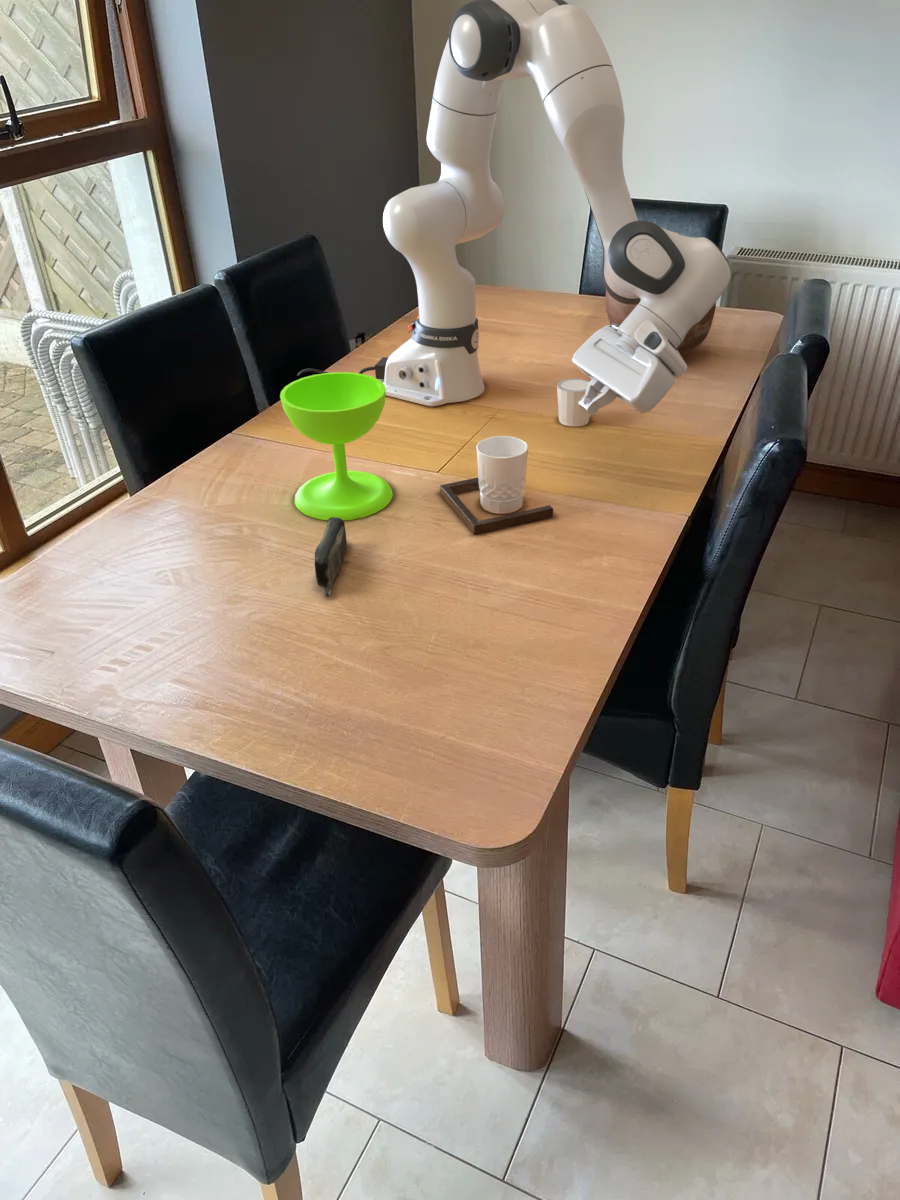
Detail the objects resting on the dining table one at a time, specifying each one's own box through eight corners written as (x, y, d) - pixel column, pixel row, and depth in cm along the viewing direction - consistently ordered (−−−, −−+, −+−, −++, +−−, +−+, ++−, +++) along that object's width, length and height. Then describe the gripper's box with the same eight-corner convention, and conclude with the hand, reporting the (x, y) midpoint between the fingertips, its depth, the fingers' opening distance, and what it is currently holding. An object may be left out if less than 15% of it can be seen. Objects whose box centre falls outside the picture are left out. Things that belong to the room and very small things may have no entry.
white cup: (533, 497, 147) (534, 439, 142) (517, 519, 141) (518, 460, 136) (487, 489, 150) (486, 432, 144) (469, 511, 144) (468, 453, 138)
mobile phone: (325, 514, 135) (308, 566, 122) (346, 514, 134) (331, 566, 122) (328, 543, 137) (312, 598, 125) (348, 543, 137) (334, 598, 125)
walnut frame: (513, 478, 153) (513, 469, 152) (553, 517, 142) (553, 508, 141) (440, 493, 149) (439, 485, 148) (474, 535, 138) (474, 525, 137)
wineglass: (350, 465, 158) (341, 364, 148) (413, 495, 149) (407, 389, 139) (274, 497, 149) (258, 392, 139) (336, 531, 140) (324, 421, 129)
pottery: (722, 346, 202) (740, 227, 188) (685, 380, 187) (701, 253, 172) (626, 331, 213) (636, 217, 199) (583, 362, 197) (590, 240, 183)
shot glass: (590, 429, 168) (593, 392, 164) (553, 426, 170) (555, 390, 166) (593, 414, 174) (595, 378, 170) (557, 412, 175) (558, 376, 171)
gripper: (600, 307, 146) (542, 376, 148) (671, 347, 130) (605, 423, 133) (622, 331, 149) (565, 397, 152) (694, 373, 134) (629, 446, 136)
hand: (584, 410), depth 142 cm, fingers closed
